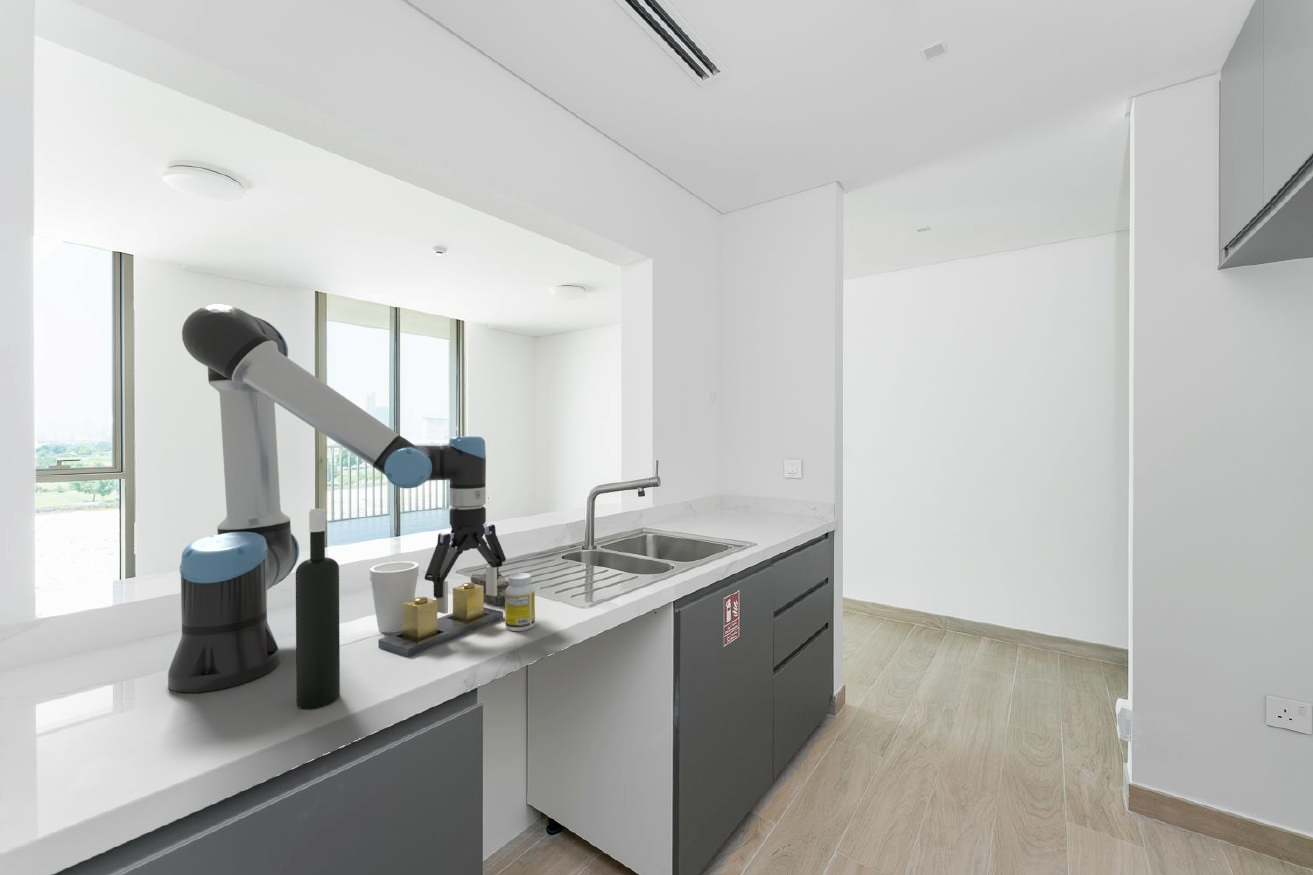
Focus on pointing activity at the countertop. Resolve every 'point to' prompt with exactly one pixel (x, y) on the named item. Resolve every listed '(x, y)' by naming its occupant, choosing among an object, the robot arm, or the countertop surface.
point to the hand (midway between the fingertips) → (468, 603)
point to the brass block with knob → (419, 619)
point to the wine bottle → (317, 622)
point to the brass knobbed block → (468, 602)
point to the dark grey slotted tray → (438, 633)
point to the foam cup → (393, 592)
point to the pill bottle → (519, 603)
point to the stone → (501, 588)
